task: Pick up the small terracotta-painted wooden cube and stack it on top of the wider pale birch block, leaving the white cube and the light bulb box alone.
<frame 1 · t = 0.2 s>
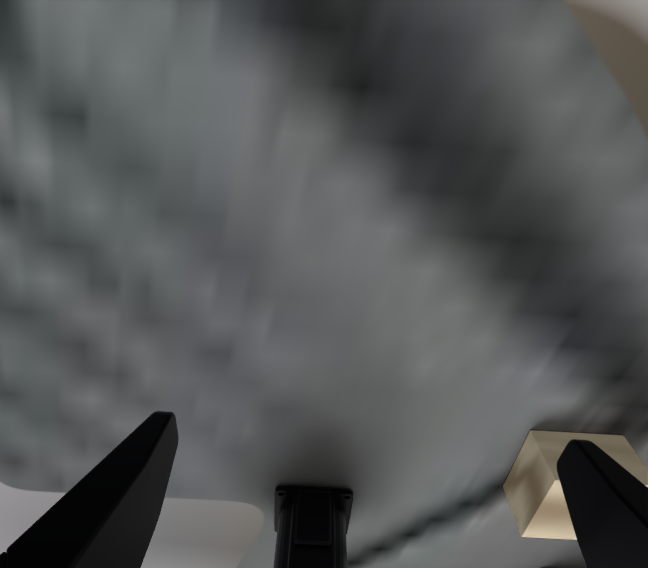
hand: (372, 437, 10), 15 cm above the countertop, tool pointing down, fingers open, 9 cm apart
birch block: (559, 462, 33), on the countertop
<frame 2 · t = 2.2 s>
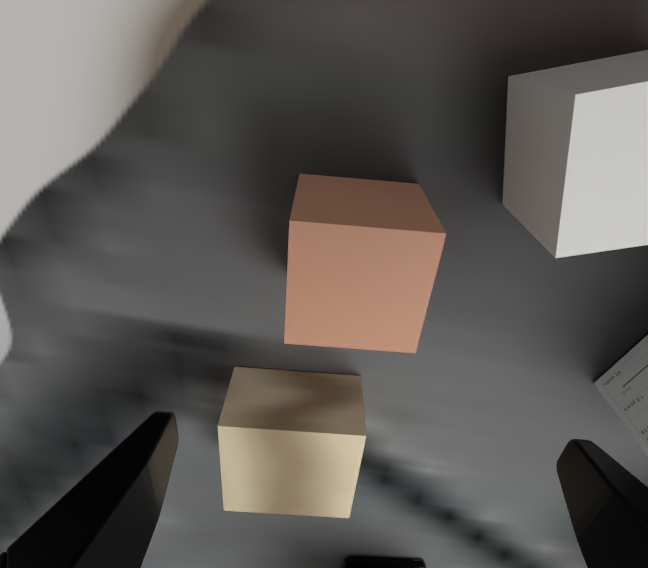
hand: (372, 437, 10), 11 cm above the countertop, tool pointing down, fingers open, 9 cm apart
birch block: (295, 414, 25), on the countertop
terracotta cube: (352, 232, 19), on the countertop
white cube: (569, 133, 16), on the countertop
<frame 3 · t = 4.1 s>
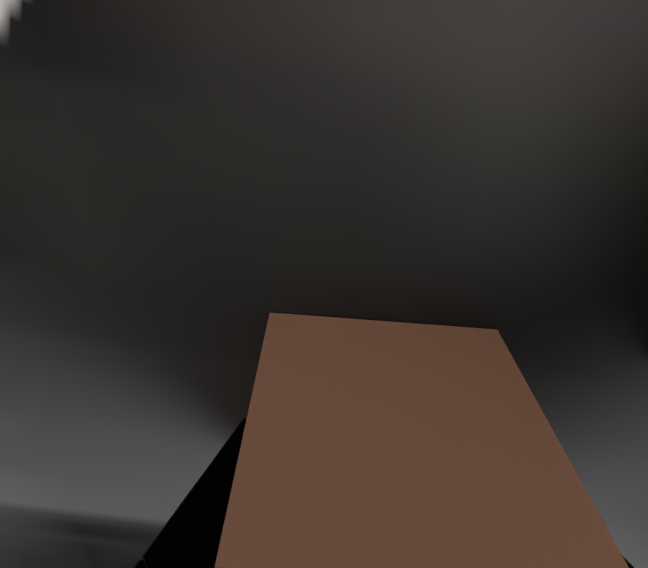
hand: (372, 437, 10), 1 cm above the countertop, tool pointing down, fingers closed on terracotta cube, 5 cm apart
terracotta cube: (368, 401, 10), on the countertop, touching gripper
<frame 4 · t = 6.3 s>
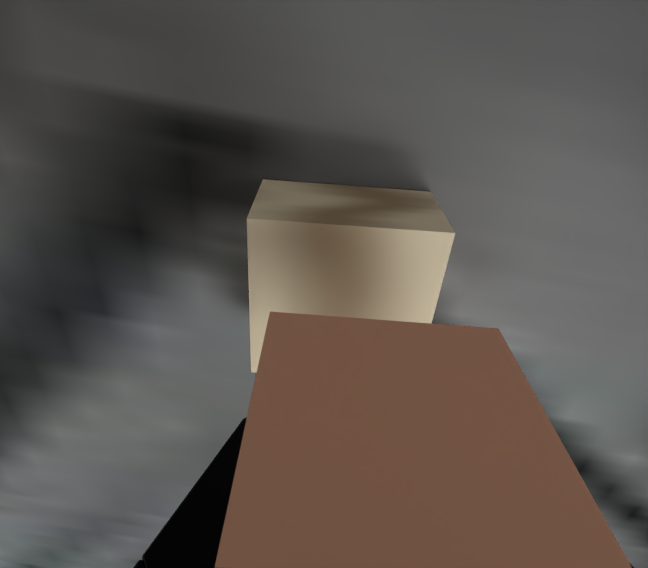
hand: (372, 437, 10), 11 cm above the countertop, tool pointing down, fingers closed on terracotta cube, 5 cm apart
birch block: (339, 259, 19), on the countertop
terracotta cube: (369, 401, 10), point 10 cm above the countertop, touching gripper
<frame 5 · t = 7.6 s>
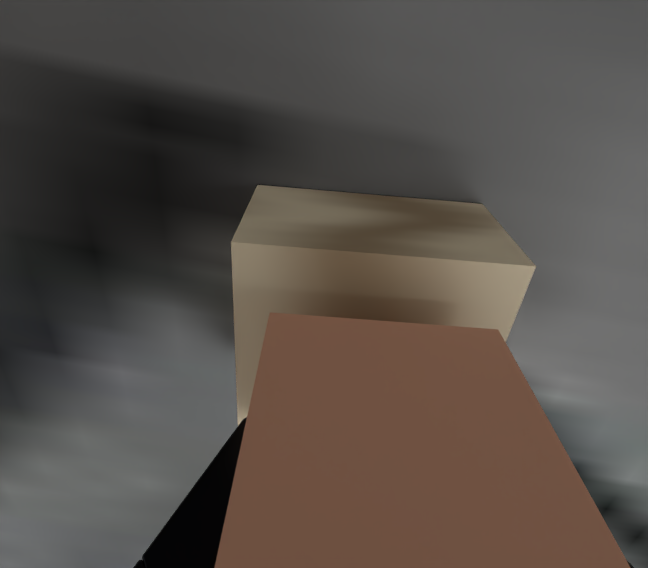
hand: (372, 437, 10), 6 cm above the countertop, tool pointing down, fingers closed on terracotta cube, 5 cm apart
birch block: (356, 289, 15), on the countertop
terracotta cube: (368, 401, 10), point 5 cm above the countertop, touching gripper
when the fingers open (6 cm above the countertop, at t = 8.4 s): terracotta cube stays where it is, resting on birch block.
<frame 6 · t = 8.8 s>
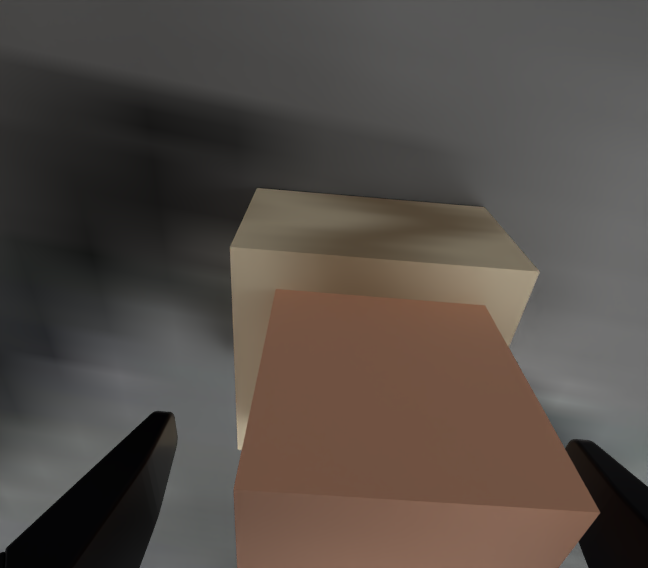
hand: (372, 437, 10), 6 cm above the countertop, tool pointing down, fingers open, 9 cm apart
birch block: (357, 293, 15), on the countertop
terracotta cube: (366, 374, 11), point 4 cm above the countertop, touching birch block
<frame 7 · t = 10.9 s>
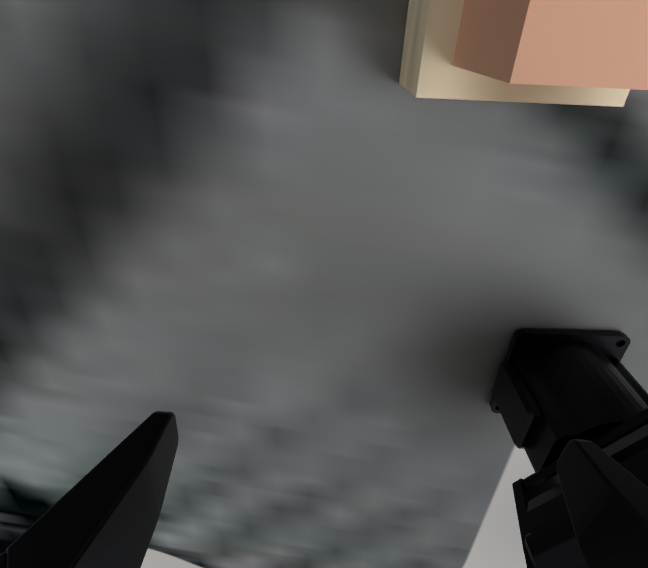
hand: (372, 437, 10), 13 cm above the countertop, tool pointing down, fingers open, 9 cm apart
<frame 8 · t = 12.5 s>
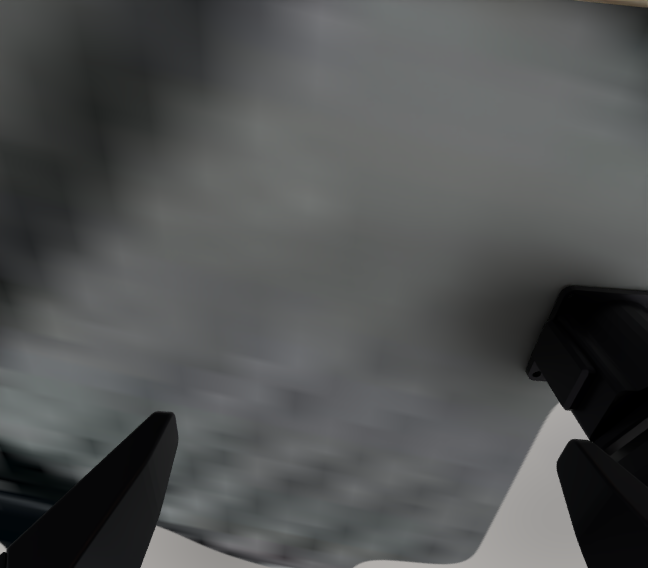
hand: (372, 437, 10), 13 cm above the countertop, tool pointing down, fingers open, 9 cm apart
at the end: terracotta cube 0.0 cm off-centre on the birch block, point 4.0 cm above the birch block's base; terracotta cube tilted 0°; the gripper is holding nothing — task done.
